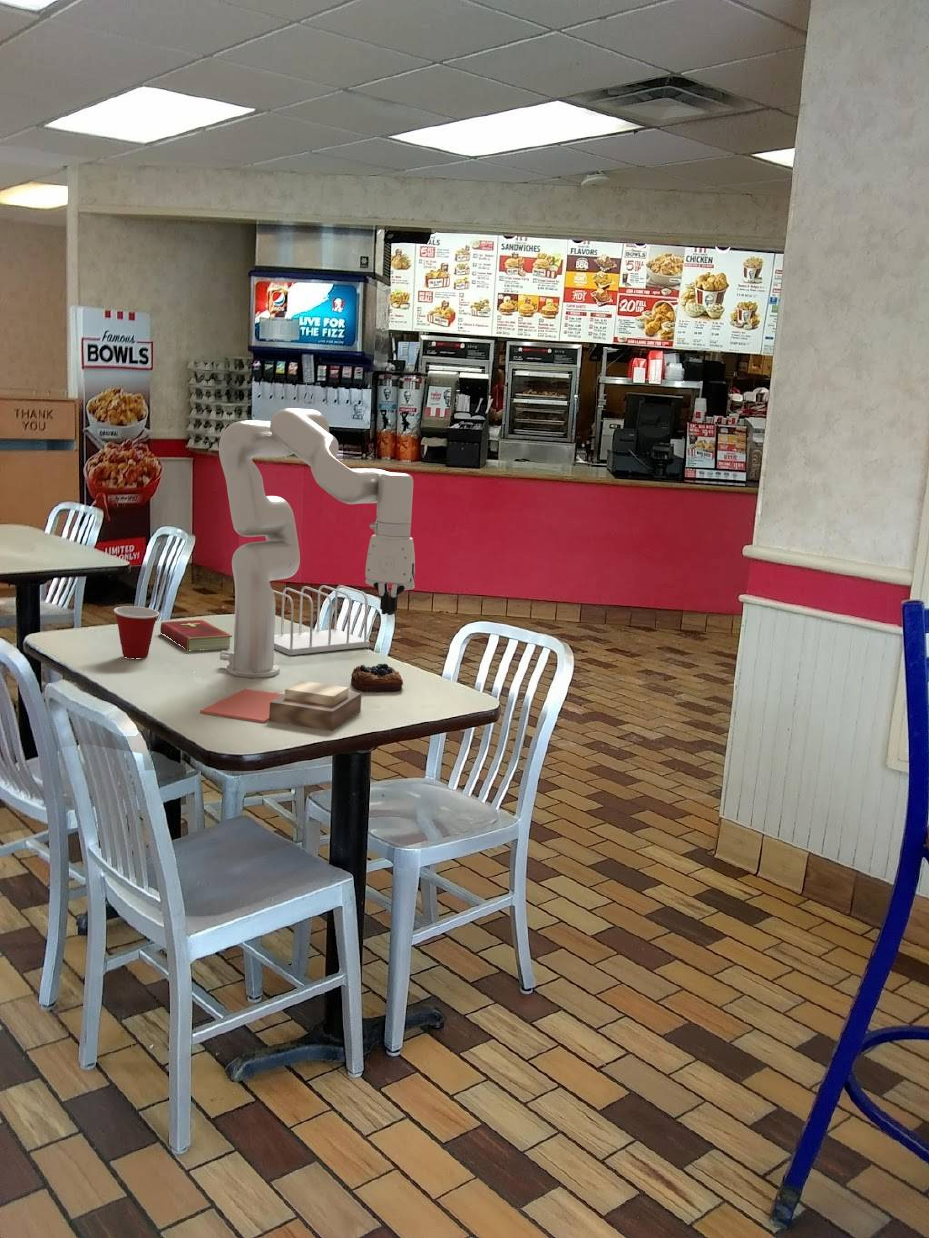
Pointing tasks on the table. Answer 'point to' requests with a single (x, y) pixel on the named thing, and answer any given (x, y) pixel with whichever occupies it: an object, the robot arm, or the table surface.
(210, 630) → the hardcover book
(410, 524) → the robot arm
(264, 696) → the mat
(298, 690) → the light wooden block
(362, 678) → the pastry
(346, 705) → the square wooden slab
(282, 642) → the file sorter
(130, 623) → the plastic cup
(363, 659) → the table surface
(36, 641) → the table surface
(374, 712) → the table surface
